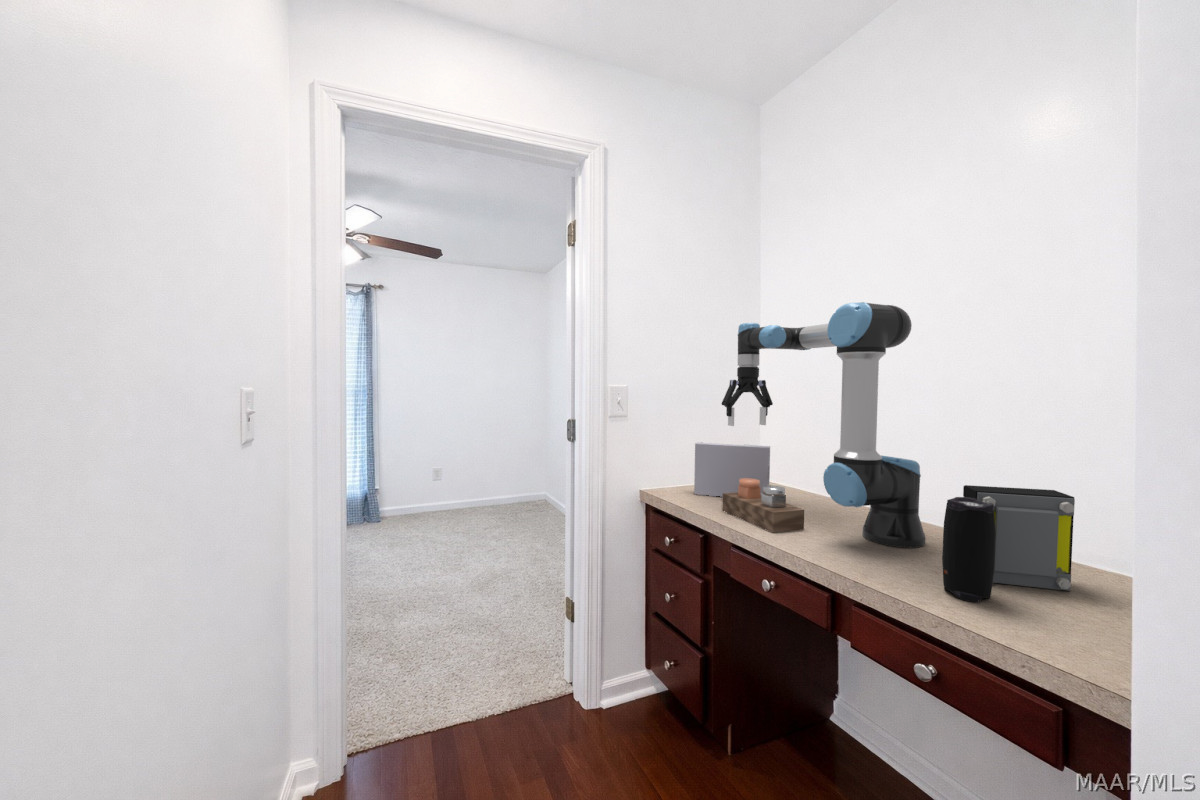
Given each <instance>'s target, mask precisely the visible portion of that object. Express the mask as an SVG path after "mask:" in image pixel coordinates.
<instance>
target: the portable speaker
mask: <svg viewBox="0 0 1200 800" xmlns="http://www.w3.org/2000/svg"><path fill="white" fill-rule="evenodd" d="M945 507H946V508H945V512H944V521H943V531H942V532H943V533H942V534H943V535H942V555H941V561H942V564H941V565H942V579H943V580H942V581H943V590H944V591H946V590H947V591H949V592H951V593H952V594H953V597H955V598H957V599H960V600H962V601H965V602H972V603H979V602H980V601H982V600H983V599H988V600H990V599H991V595H992V590H993V576H994V564H995V540H996V530H995V519H994V504H993V503H985V502H981V501H978V500H977V499H975V498H968V497H964V496H955V497H953V498H950V499H947V501H946V506H945Z"/></svg>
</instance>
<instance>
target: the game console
mask: <svg viewBox="0 0 1200 800" xmlns="http://www.w3.org/2000/svg"><path fill="white" fill-rule="evenodd" d="M770 470H771V446H770V445H758V444H757V445H753V444H732V443H730V444H729V443H714V442H713V443H712V442H703V441H700V442H699V441H697V442H695V444H694V481H693V482H694V484H693V485H694V488H693V490H694V491H693V492H694V493H693V495H696V494H697V495H698V496H706V495H709V496H708V497H716V496H720V497H719V498H723V493H732V492H738V485H739V479H741V478H752V479H758V480H760V487H761V490H760V495H762V493H763V486H766V485H770V477H771V476H770V472H771V471H770Z"/></svg>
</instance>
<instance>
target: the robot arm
mask: <svg viewBox="0 0 1200 800" xmlns="http://www.w3.org/2000/svg"><path fill="white" fill-rule="evenodd" d="M912 324H913V323H912V320H911V317H910V315H909V313H908V312H906V311H905V310H904V309H902V308H901V307H898V306H896V305H894V304H893V305H892V304H891V305H890V304H881V303H880V304H879V303H870V302H865V301H864V302H863V301H862V302H849V303H845V304H842V305H841V306H840V307H838V308H837V309H836V310H835V312H834V313H832V315H831V316H830V319H829V321H828V323H824V324H822V323H821V324H817V325H809V326H803V327H783V326H780V325H778V324H775V325H772V324H771V325H770V324H769V325H765V326H762V327H761V324H759V322H757V323H756V322H747V323H746V322H745V323H744V322H743V323H740V324H739V325H738V333H737V366H738V367H737V369H736V370H737V371H736V372H737V373H736V374H737V375H736V377H737V380H736V379H730V380H729V386H728V387H727V390H726V392H725V395H724V397H723V399H722V401H721V406H724V407H725V408H726V412H725V413H726V417H727V426H730V427H734V426H735V407H734V405H735V404H736V403H737V401H738V399H740V397H741V395H742V394H744V393H751V394H753V396H754V397H755V399H756V400H757V401H758V403H759V404H760V406H759V424H758V425H759V426H760V425H761V426H767V416H768V413H769V411H768V408H770V406H773V400H772V398H771V396H770V393H769V391H768V387H767V382H766V380H765V379H760V380H759V377H760V367H759V366H760V350H765V349H766V350H767V349H769V350H795V351H796V350H797V351H807V350H811V349H817V348H818V349H820V348H822V349H823V348H832V347H836V355H837V357H839V358H840V359H841V361H842V369H841V371H842V374H841V407H840V408H841V409H840V434H839V435H840V441H839V443H840V445H839V449H837V451H836V452H834V453H833V462H832V463H831V464H829V465H828V466H827V468H825V469H824V472H823V477H822V478H823V487H824V488H825V491H826V492H827V495H829V497H830V498H831V500H832V501H834V502H835V503H836V504H837V505H840V506H842V507H846V508H847V507H849V508H851V507H853V508H854V507H855V508H861V507H866V506H870V507H869V511H868V514H867V515H866V518H865V522H864V524H863V526H862V537H863V538H865V539H867V540H868V541H871V542H873V543H876V544H881V545H884V546H885V545H886V546H889V547H895V548H896V547H897V548H906V549H907V548H909V549H911V548H914V549H915V548H921V547H924V546H926V533H925V532H924V528H923V524H922V522H921V518H920V516H919V515H920V514H919V512H920V510H919V509H920V490H921V489H920V486H921V485H920V484H921V478H922V477H921V476H922V475H921V467H920V464H919V463H918V462H917V461H916V460H913V459H908V458H901V457H894V456H887V455H880V453H878V451H877V434H878V433H877V429H878V402H879V401H878V397H879V395H878V394H879V370H880V369H879V364H880V363H879V362H880V360H881V359H882V358H883V357H884V356H885V355H886V351H887V350H886V349H890V348H894V347H897V346H899V345H902V343H904V342H905V341H906V340H907V339H908V337H909V336H910V334H911V331H912ZM737 386H738V387H737Z"/></svg>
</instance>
